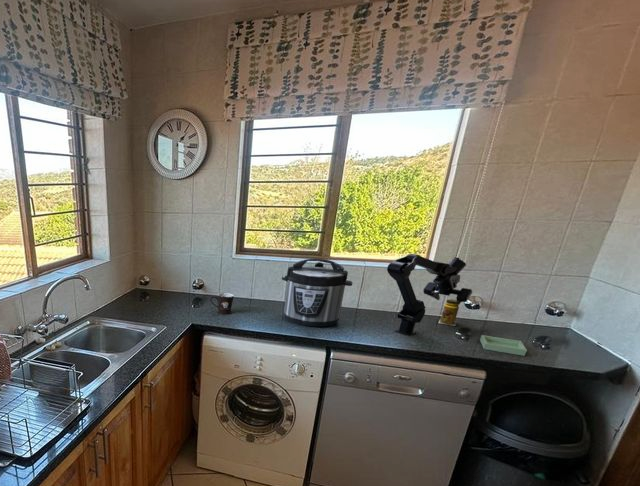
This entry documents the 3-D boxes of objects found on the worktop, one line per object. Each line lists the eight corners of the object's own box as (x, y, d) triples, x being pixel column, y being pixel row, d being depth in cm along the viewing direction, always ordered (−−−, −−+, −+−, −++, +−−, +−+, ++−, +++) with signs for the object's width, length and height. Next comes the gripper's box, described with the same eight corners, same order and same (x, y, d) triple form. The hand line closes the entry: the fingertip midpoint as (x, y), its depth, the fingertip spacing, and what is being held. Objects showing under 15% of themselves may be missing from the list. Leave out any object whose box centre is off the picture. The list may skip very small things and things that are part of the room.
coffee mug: (234, 311, 221) (236, 294, 218) (228, 315, 215) (230, 297, 211) (215, 308, 227) (216, 291, 224) (208, 312, 220) (210, 294, 217)
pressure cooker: (267, 316, 214) (275, 256, 203) (304, 309, 227) (313, 252, 216) (314, 333, 190) (325, 266, 178) (352, 324, 203) (365, 261, 191)
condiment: (437, 323, 206) (444, 300, 201) (439, 319, 212) (446, 297, 208) (455, 326, 202) (462, 303, 197) (456, 322, 208) (463, 299, 203)
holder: (483, 349, 173) (485, 343, 172) (480, 340, 183) (481, 335, 182) (524, 355, 167) (527, 350, 166) (518, 346, 177) (520, 340, 176)
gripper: (477, 272, 183) (479, 292, 193) (432, 265, 198) (436, 285, 207) (464, 291, 182) (467, 311, 192) (420, 283, 197) (425, 302, 206)
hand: (449, 301), depth 199 cm, fingers open, 9 cm apart
